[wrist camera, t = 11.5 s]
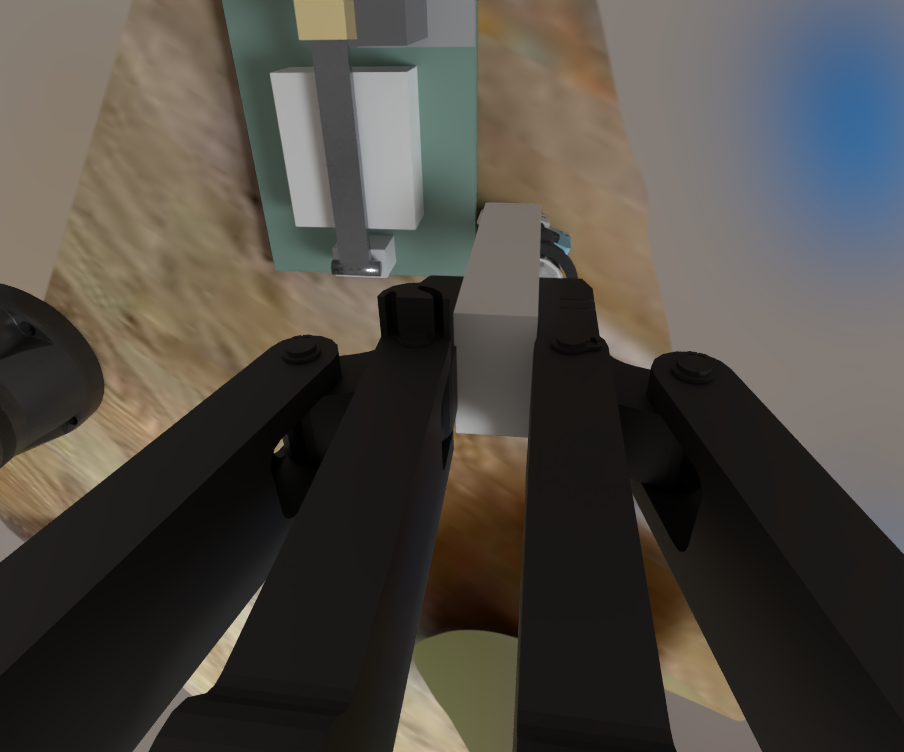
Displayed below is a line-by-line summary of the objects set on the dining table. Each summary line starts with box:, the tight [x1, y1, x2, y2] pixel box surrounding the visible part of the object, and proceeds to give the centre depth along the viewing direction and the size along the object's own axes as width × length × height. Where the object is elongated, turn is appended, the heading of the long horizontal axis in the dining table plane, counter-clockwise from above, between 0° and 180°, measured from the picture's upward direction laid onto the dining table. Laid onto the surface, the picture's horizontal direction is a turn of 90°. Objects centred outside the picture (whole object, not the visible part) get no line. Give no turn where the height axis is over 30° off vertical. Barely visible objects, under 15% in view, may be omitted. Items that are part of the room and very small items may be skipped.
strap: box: [310, 39, 382, 276], centre depth 35 cm, size 3×16×1 cm, turn 1°
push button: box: [477, 209, 578, 279], centre depth 37 cm, size 7×5×10 cm
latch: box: [293, 0, 428, 46], centre depth 31 cm, size 6×3×6 cm, turn 91°
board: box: [222, 0, 478, 278], centre depth 37 cm, size 15×18×4 cm
